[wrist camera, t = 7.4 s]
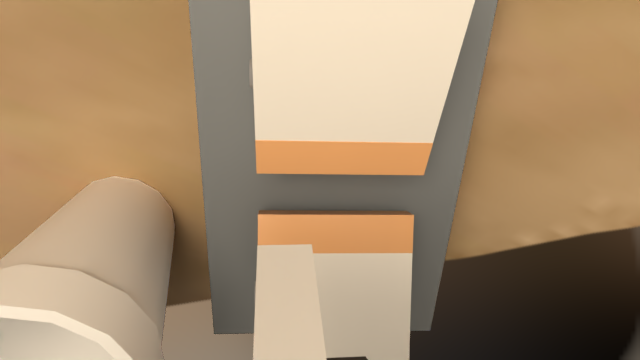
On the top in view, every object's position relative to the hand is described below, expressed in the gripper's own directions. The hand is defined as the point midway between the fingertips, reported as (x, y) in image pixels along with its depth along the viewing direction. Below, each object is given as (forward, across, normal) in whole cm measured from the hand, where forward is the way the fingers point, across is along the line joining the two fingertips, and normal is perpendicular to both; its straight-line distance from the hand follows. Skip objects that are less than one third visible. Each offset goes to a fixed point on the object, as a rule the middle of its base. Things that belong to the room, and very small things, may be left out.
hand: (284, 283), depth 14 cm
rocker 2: (+9, +3, -9) cm, 13 cm away
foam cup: (+16, -10, -8) cm, 21 cm away
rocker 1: (+10, +3, +3) cm, 11 cm away
